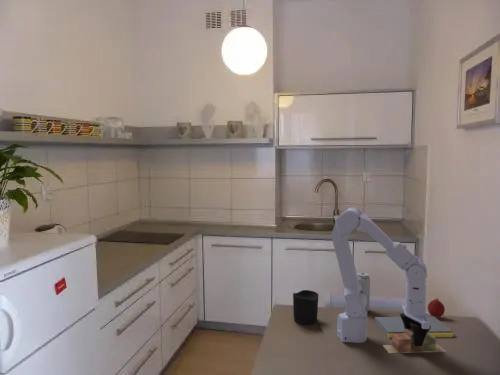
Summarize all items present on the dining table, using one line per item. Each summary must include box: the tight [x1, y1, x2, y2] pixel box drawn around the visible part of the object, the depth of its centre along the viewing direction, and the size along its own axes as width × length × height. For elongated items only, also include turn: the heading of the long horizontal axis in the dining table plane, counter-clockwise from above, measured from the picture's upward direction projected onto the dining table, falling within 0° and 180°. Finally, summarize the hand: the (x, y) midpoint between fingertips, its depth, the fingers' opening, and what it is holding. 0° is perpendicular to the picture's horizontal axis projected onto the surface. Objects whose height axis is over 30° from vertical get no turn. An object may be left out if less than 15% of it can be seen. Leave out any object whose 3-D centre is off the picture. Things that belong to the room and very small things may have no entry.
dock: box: [374, 315, 454, 339], centre depth 132 cm, size 22×13×2 cm, turn 92°
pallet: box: [382, 329, 447, 354], centre depth 118 cm, size 18×5×7 cm, turn 93°
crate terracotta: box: [391, 333, 411, 352], centre depth 118 cm, size 4×4×4 cm
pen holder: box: [292, 289, 319, 325], centre depth 140 cm, size 9×9×10 cm
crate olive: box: [423, 333, 437, 351], centre depth 118 cm, size 4×4×4 cm
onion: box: [427, 297, 446, 319], centre depth 142 cm, size 6×6×8 cm
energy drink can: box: [356, 271, 371, 313], centre depth 149 cm, size 6×6×15 cm
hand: (414, 341), depth 118 cm, fingers open, 5 cm apart
